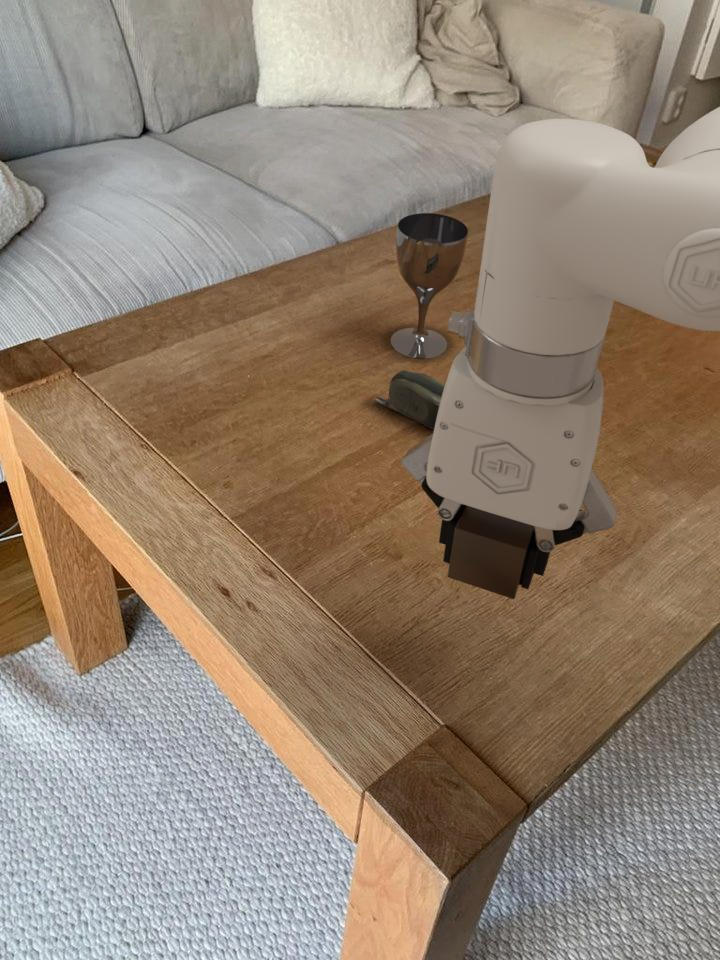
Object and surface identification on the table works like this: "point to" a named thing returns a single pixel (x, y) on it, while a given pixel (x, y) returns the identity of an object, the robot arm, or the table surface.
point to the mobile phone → (415, 396)
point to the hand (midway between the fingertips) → (491, 561)
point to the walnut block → (489, 551)
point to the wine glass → (427, 273)
